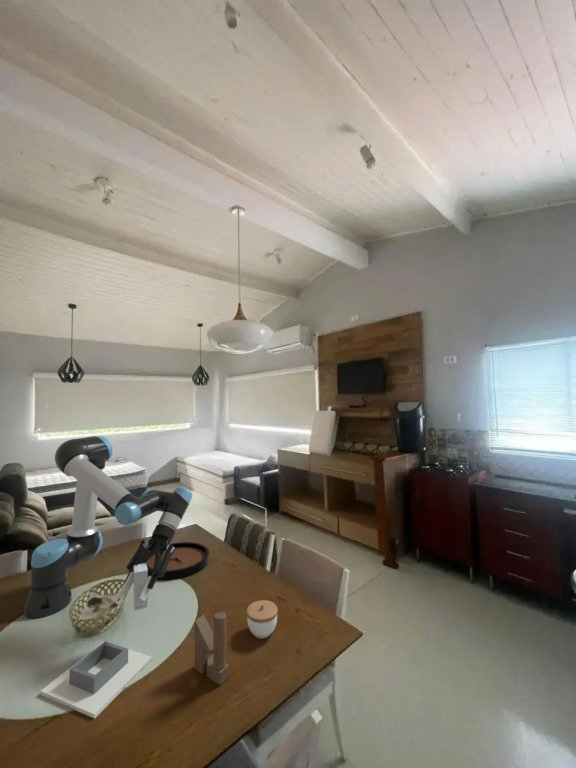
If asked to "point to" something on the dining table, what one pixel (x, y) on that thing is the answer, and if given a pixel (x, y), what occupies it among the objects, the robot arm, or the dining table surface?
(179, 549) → the wall clock
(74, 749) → the dining table surface
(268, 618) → the lidded jar
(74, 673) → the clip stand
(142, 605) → the skincare box
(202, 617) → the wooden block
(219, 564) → the dining table surface
